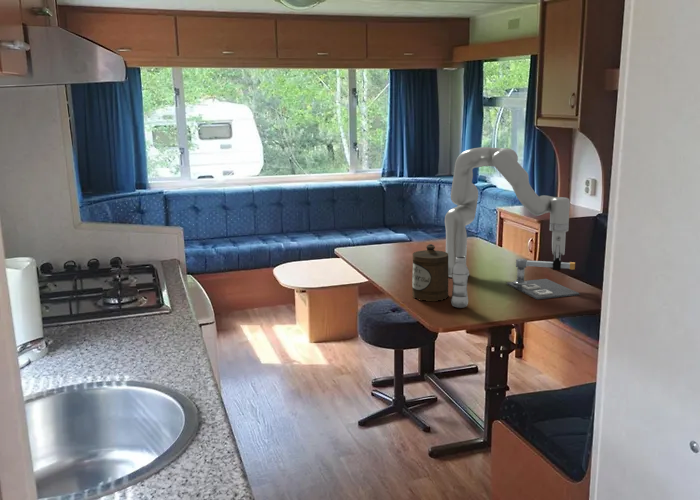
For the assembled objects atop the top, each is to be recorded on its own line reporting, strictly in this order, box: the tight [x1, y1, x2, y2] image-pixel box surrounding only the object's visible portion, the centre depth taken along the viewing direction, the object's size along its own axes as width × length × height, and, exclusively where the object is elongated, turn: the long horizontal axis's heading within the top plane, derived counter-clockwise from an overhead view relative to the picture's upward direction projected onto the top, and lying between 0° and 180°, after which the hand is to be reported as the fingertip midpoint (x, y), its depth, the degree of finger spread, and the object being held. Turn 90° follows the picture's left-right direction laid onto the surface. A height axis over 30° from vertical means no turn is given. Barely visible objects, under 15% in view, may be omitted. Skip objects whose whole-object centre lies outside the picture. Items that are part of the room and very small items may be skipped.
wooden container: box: [411, 243, 449, 302], centre depth 263 cm, size 15×15×22 cm
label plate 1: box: [522, 284, 541, 289], centre depth 273 cm, size 6×5×1 cm
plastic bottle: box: [450, 256, 470, 309], centre depth 248 cm, size 6×7×20 cm
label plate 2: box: [533, 289, 553, 295], centre depth 265 cm, size 6×5×1 cm
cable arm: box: [515, 258, 576, 271], centre depth 275 cm, size 24×4×3 cm, turn 73°
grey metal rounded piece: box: [512, 267, 528, 285], centre depth 279 cm, size 6×6×7 cm
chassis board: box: [506, 278, 581, 300], centre depth 273 cm, size 20×24×1 cm
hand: (556, 269), depth 271 cm, fingers closed
